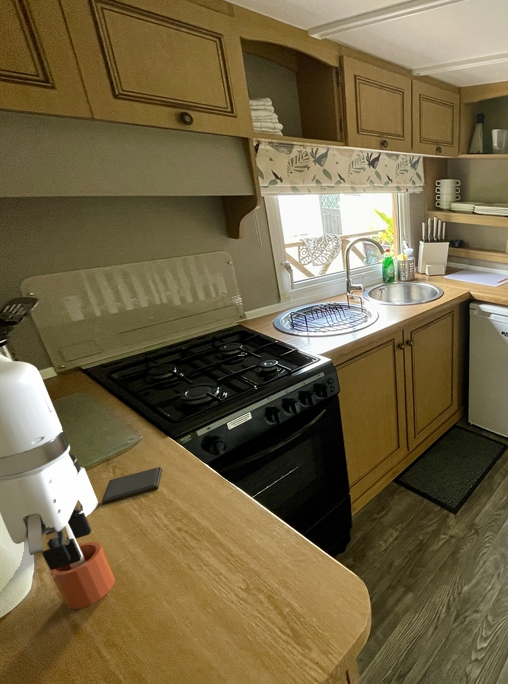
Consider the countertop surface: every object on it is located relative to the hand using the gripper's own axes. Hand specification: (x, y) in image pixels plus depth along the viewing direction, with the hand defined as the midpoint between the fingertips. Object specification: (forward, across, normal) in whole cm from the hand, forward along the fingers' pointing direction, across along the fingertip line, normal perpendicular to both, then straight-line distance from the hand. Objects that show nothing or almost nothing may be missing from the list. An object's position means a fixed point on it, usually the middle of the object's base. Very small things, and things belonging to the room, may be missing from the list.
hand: (72, 549), depth 56 cm
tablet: (+10, -26, +2) cm, 28 cm away
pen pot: (+10, 0, 0) cm, 10 cm away
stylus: (+9, 0, 0) cm, 9 cm away
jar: (+10, -22, -8) cm, 25 cm away
